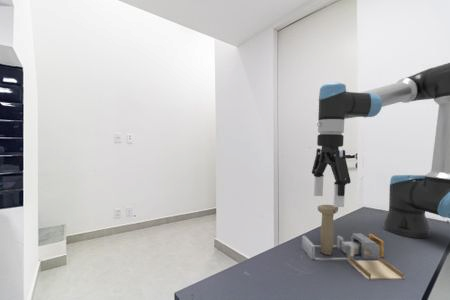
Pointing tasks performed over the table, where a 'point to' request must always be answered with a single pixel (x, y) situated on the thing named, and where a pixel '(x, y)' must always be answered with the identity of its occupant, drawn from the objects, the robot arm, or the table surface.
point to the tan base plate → (376, 269)
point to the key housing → (367, 246)
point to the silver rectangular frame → (310, 248)
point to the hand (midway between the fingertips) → (327, 200)
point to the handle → (327, 228)
